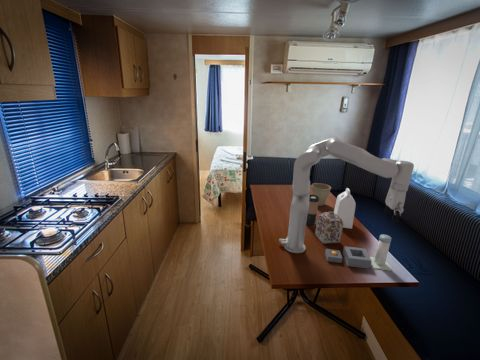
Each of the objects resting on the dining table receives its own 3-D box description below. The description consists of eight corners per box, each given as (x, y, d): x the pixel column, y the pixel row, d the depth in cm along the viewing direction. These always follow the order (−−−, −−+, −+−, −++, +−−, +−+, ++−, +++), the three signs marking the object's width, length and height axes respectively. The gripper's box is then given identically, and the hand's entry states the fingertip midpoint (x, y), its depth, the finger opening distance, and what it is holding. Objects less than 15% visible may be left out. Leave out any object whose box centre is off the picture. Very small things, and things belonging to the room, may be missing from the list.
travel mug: (317, 225, 182) (321, 198, 175) (307, 226, 180) (311, 199, 173) (311, 220, 189) (315, 194, 182) (302, 221, 187) (305, 195, 180)
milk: (352, 228, 179) (359, 193, 171) (334, 226, 181) (340, 191, 173) (348, 220, 190) (355, 187, 182) (332, 218, 192) (338, 185, 184)
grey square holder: (347, 265, 139) (348, 257, 138) (342, 253, 150) (344, 246, 148) (369, 268, 138) (371, 260, 136) (363, 256, 148) (365, 248, 147)
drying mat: (373, 268, 138) (374, 267, 138) (367, 257, 148) (368, 256, 147) (391, 270, 137) (392, 269, 137) (384, 259, 146) (385, 258, 146)
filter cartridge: (376, 265, 140) (382, 239, 135) (372, 259, 145) (378, 233, 140) (386, 266, 139) (393, 240, 134) (383, 260, 144) (389, 235, 139)
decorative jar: (340, 243, 161) (345, 216, 155) (322, 244, 159) (327, 217, 153) (330, 233, 172) (335, 208, 166) (314, 234, 170) (318, 209, 164)
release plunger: (330, 259, 144) (331, 253, 143) (329, 255, 147) (330, 250, 146) (336, 259, 144) (337, 254, 143) (335, 256, 147) (336, 251, 146)
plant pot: (330, 208, 210) (333, 189, 205) (312, 207, 210) (314, 188, 205) (325, 200, 225) (327, 183, 219) (307, 200, 225) (310, 182, 220)
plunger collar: (327, 261, 142) (328, 256, 141) (325, 253, 150) (325, 248, 149) (341, 263, 141) (342, 258, 140) (338, 254, 149) (339, 250, 148)
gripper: (384, 179, 136) (377, 209, 142) (398, 191, 120) (389, 224, 126) (399, 181, 136) (392, 211, 141) (415, 193, 119) (406, 226, 125)
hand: (391, 217), depth 133 cm, fingers open, 9 cm apart
